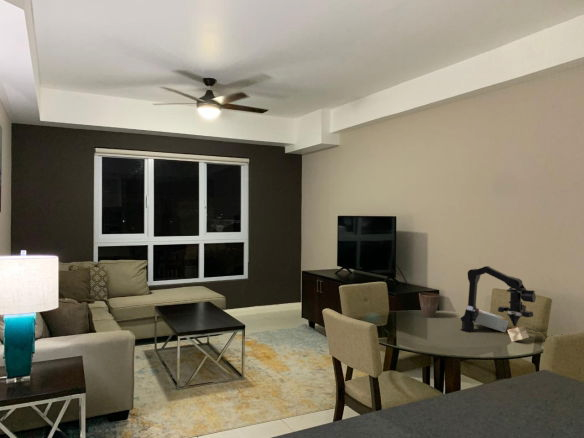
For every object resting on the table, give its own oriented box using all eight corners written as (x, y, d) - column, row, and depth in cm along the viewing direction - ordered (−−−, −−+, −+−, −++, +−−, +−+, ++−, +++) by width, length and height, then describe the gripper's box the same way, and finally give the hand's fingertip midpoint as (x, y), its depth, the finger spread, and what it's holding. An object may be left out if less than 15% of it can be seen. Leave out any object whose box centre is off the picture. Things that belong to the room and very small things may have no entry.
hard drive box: (509, 321, 284) (477, 311, 286) (505, 332, 284) (474, 323, 286) (500, 315, 299) (470, 307, 301) (497, 326, 299) (467, 317, 302)
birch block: (517, 326, 262) (522, 338, 259) (523, 325, 266) (528, 337, 263) (507, 329, 267) (511, 341, 264) (513, 328, 271) (518, 340, 268)
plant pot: (425, 313, 334) (425, 291, 334) (443, 317, 323) (444, 294, 323) (414, 316, 324) (414, 293, 324) (432, 320, 313) (433, 297, 313)
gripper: (538, 301, 263) (537, 327, 263) (507, 296, 279) (507, 321, 279) (528, 303, 257) (527, 330, 257) (497, 297, 272) (497, 323, 272)
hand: (514, 326), depth 267 cm, fingers closed
